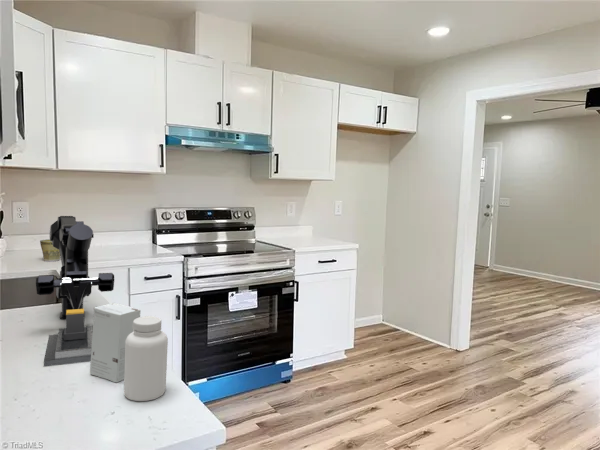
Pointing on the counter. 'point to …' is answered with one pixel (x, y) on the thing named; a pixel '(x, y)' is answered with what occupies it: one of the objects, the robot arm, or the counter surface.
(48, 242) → the ceramic cup
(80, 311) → the breaker handle
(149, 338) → the pill bottle
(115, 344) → the skincare box
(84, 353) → the grey shallow rectangular piece
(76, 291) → the robot arm
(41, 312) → the counter surface
